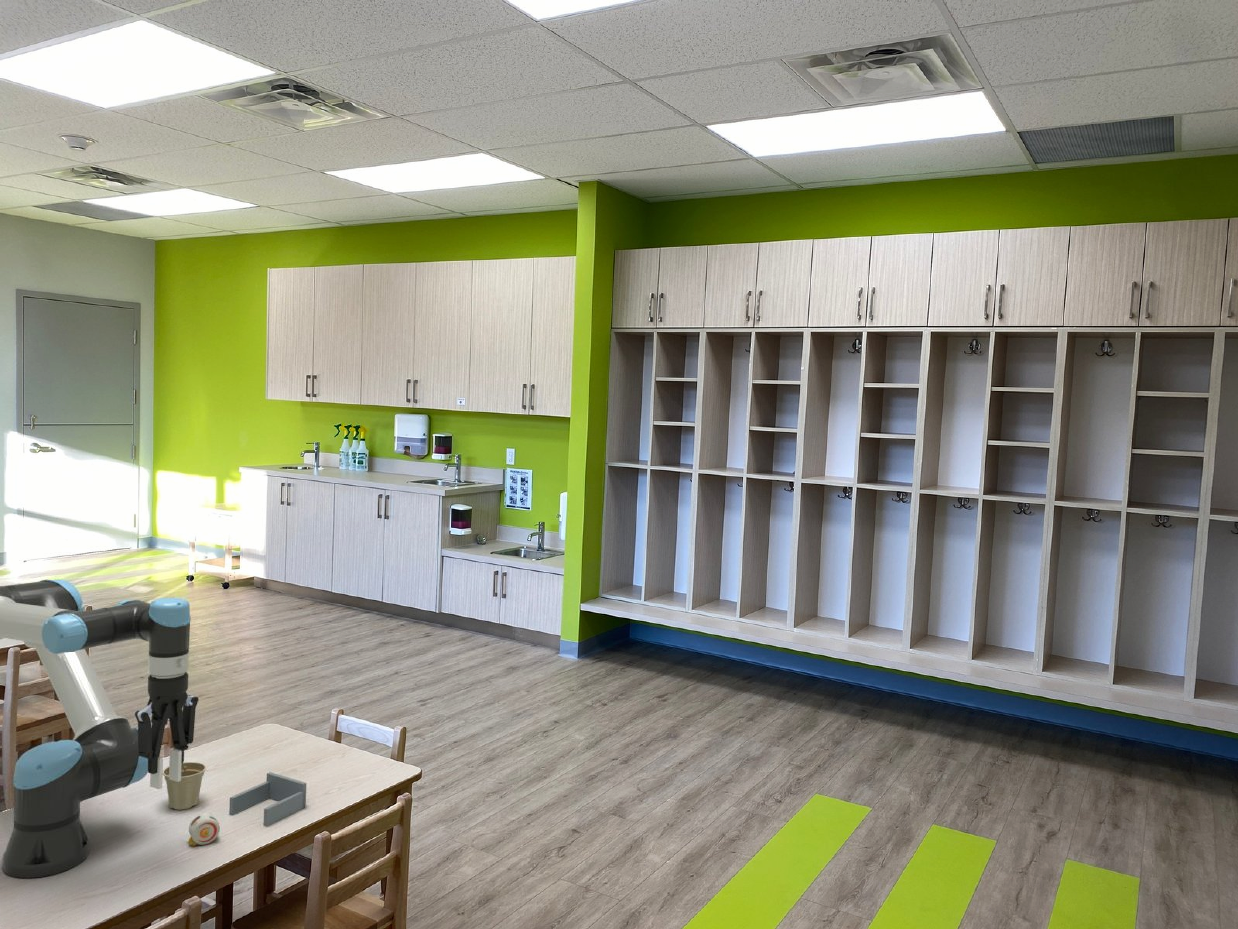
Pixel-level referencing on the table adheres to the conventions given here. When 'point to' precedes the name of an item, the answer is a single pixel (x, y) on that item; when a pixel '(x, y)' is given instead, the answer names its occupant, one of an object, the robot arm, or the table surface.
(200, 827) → the roller toy
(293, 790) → the bin
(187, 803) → the flower pot
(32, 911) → the table surface
